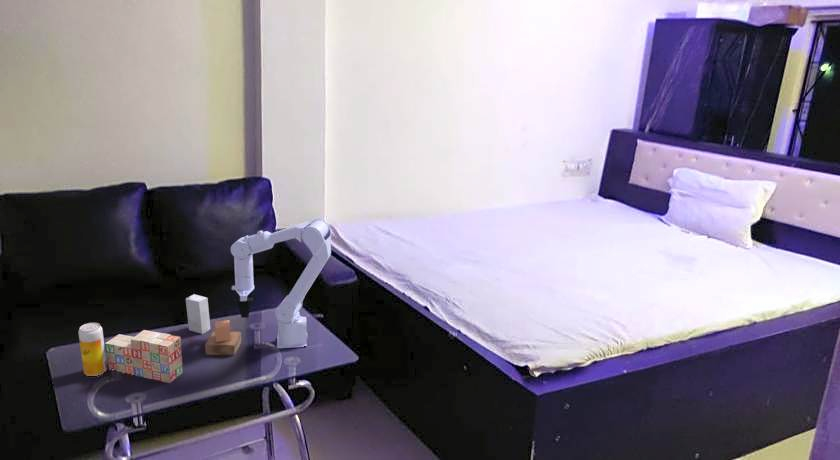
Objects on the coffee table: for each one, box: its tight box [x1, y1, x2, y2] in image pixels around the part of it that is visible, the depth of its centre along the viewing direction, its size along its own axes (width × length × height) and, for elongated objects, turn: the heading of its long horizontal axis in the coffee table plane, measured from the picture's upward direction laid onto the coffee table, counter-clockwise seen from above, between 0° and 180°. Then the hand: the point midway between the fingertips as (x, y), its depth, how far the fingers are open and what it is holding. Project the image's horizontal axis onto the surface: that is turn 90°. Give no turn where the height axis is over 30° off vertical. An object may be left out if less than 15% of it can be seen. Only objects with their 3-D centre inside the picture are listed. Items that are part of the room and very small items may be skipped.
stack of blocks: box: [104, 329, 184, 384], centre depth 180 cm, size 21×6×12 cm, turn 76°
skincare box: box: [185, 293, 211, 335], centre depth 206 cm, size 6×4×12 cm
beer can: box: [78, 322, 108, 377], centre depth 178 cm, size 6×6×15 cm
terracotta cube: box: [214, 319, 231, 342], centre depth 196 cm, size 4×4×5 cm
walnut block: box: [204, 330, 242, 356], centre depth 197 cm, size 9×9×4 cm
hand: (245, 312), depth 202 cm, fingers open, 7 cm apart
